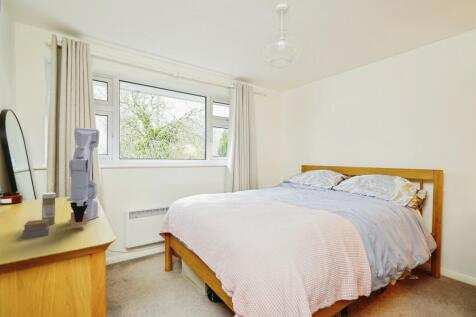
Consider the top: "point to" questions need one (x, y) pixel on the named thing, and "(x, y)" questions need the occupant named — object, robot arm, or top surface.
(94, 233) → the top surface
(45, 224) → the tower top
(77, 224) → the block
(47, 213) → the sprinkles bottle
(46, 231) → the tower base
